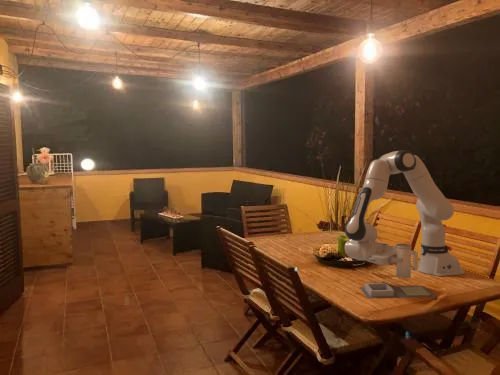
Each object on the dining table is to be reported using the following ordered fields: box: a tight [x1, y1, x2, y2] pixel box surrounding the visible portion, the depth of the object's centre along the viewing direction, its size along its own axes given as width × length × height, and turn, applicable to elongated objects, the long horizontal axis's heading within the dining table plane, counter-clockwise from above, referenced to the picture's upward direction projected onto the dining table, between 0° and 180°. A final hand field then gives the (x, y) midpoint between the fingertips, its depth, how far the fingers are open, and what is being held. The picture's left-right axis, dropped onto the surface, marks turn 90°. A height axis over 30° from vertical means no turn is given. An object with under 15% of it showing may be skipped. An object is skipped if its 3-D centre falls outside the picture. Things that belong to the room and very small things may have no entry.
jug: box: [395, 243, 419, 279], centre depth 188 cm, size 9×7×14 cm
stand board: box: [359, 282, 438, 301], centre depth 190 cm, size 30×14×4 cm, turn 90°
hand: (405, 259), depth 188 cm, fingers closed on jug, 6 cm apart
